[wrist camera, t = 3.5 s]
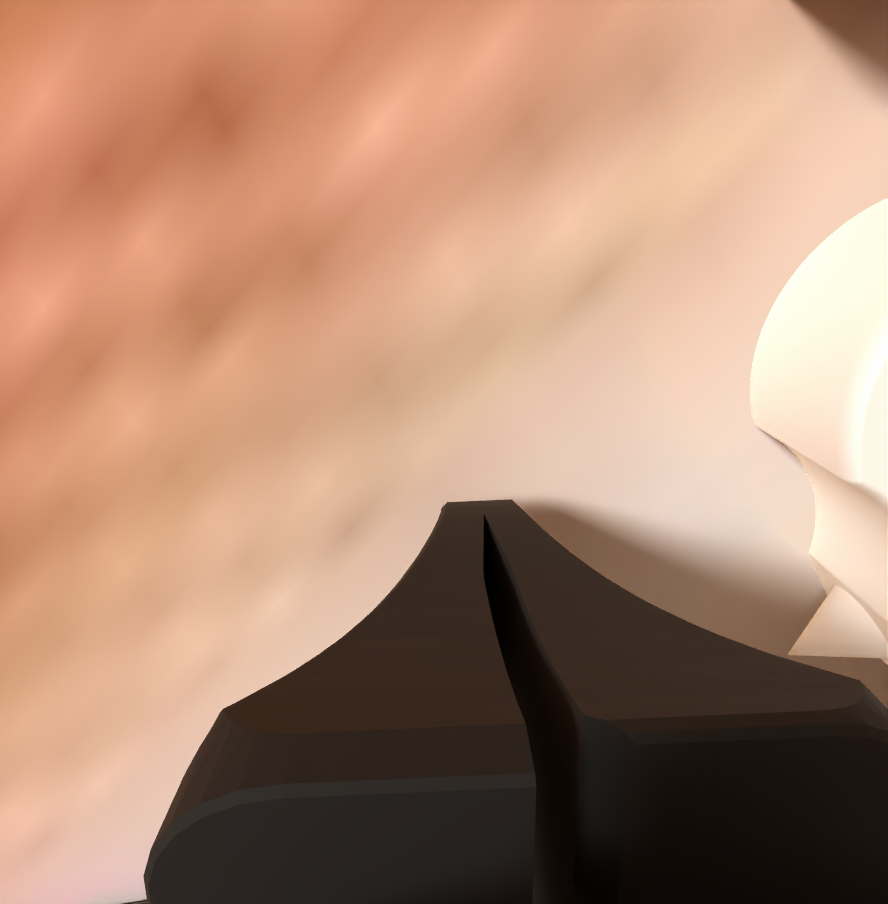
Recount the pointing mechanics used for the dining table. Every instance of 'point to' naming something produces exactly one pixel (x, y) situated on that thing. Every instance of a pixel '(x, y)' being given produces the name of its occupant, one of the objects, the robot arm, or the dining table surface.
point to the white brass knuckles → (836, 424)
